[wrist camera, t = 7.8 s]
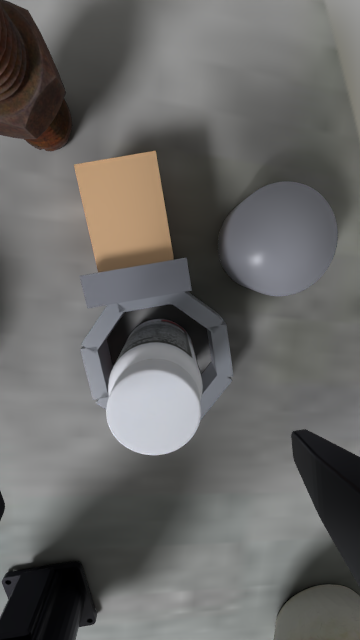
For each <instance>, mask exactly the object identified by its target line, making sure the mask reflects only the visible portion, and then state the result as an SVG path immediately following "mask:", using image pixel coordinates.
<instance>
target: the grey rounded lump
mask: <svg viewBox="0 0 360 640" xmlns="http://www.w3.org/2000/svg"><path fill="white" fill-rule="evenodd" d="M337 240H338V230H337V223H336V219H335V215H334V213H333V210H332V208H331V207H330V205H329V203H328V202H327V201H326V199H325V198H324V197H323V196H322V195H321V194H320V193H319V192H317V191H316V190H315V189H313V188H311V187H309V186H307V185H305V184H302V183H298V182H291V181H283V182H276V183H272V184H269V185H266V186H264V187H262V188H260V189H258V190H257V191H255V192H254V193H253V194H251V195H250V196H249V197H247V198H246V199H245V200H244V201H243V202H241V203H240V204H239V205H238V206H236V207H235V208H234V209H233V210H232V211H231V212H230V213H229V215H228V216H227V217H226V219H225V221H224V222H223V225H222V227H221V229H220V233H219V237H218V254H219V259H220V262H221V264H222V266H223V268H224V270H225V272H226V273H227V274H228V275H229V277H230V278H231V279H233V280H234V281H235V282H236V283H238V284H239V285H241V286H244V287H246V288H249V289H251V290H254V291H257V292H259V293H262V294H266V295H271V296H287V295H292V294H295V293H298V292H301V291H303V290H305V289H307V288H308V287H310V286H311V285H313V284H314V283H315V282H316V281H317V280H318V279H319V278H320V277H321V276H322V275H323V274H324V273H325V271H326V270H327V268H328V267H329V265H330V263H331V261H332V259H333V257H334V254H335V250H336V247H337Z"/></svg>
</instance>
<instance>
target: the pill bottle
mask: <svg viewBox="0 0 360 640" xmlns="http://www.w3.org/2000/svg"><path fill="white" fill-rule="evenodd" d="M202 389H203V385H202V377H201V373H200V369H199V366H198V363H197V359H196V356H195V352H194V347H193V343H192V341H191V338H190V336H189V335H188V333H187V332H186V331H185V330H184V329H183V328H182V327H181V326H180V325H178V324H177V323H175V322H173V321H170V320H166V319H154V320H149V321H146V322H144V323H142V324H140V325H139V326H138V327H136V328H135V329H134V330H133V332H132V333H131V334H130V336H129V338H128V339H127V341H126V344H125V346H124V347H123V349H122V351H121V353H120V355H119V357H118V359H117V361H116V363H115V364H114V367H113V369H112V371H111V374H110V378H109V384H108V393H109V398H108V401H107V407H106V416H107V422H108V425H109V428H110V430H111V432H112V433H113V435H114V436H115V438H116V439H117V440H118V441H119V442H120V443H121V444H123V445H124V446H125V447H127V448H128V449H130V450H132V451H135V452H138V453H141V454H146V455H162V454H167V453H170V452H173V451H175V450H177V449H179V448H181V447H182V446H184V445H185V444H186V443H187V442H188V441H189V440H190V439H191V438H192V437H193V435H194V434H195V432H196V430H197V428H198V426H199V423H200V418H201V404H200V400H201V396H202Z"/></svg>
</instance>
